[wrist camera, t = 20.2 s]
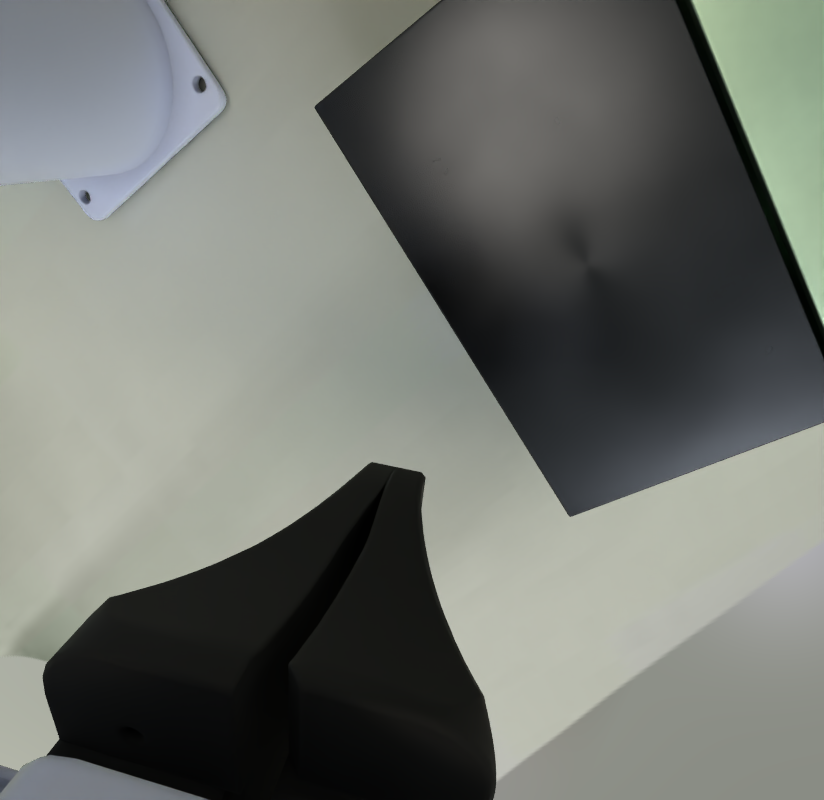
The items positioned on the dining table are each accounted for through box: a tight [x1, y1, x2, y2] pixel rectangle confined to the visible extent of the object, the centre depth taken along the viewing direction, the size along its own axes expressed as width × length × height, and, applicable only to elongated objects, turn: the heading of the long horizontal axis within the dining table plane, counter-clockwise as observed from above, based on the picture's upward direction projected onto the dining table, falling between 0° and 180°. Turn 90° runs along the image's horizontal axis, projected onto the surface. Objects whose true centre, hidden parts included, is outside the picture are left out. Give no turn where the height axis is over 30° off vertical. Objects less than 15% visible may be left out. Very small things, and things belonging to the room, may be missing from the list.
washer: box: [677, 0, 824, 355], centre depth 15 cm, size 15×13×7 cm
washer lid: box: [315, 0, 824, 517], centre depth 13 cm, size 7×13×1 cm, turn 33°
